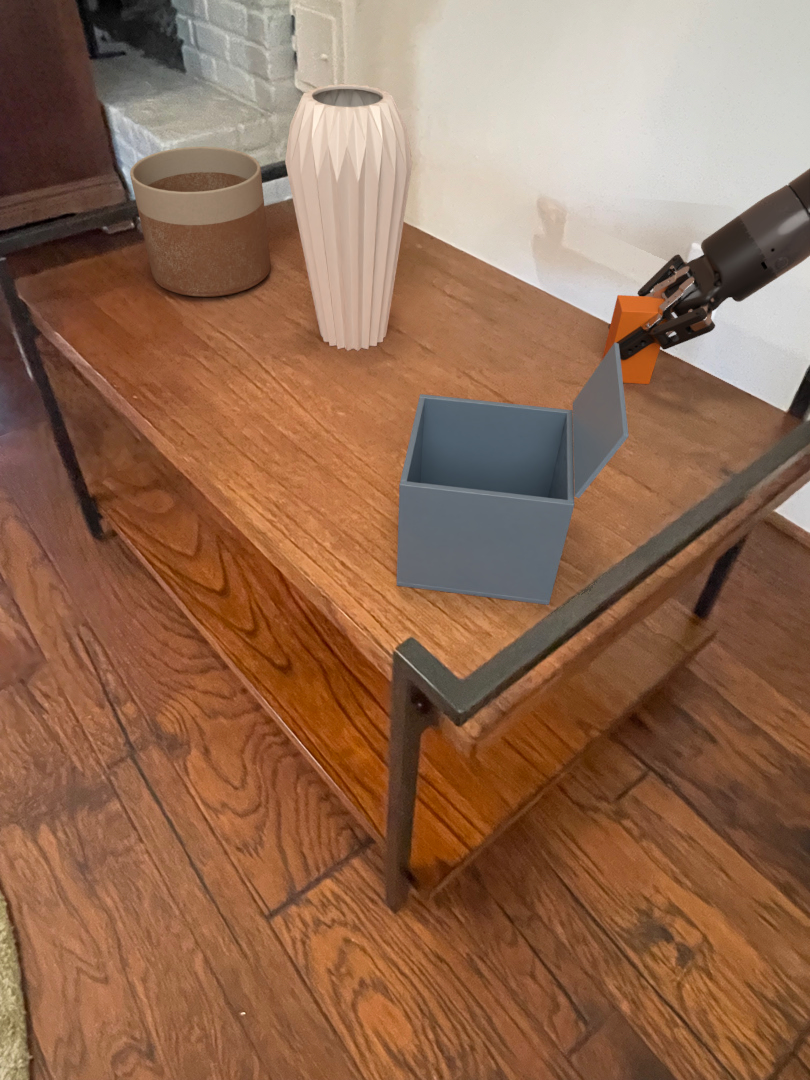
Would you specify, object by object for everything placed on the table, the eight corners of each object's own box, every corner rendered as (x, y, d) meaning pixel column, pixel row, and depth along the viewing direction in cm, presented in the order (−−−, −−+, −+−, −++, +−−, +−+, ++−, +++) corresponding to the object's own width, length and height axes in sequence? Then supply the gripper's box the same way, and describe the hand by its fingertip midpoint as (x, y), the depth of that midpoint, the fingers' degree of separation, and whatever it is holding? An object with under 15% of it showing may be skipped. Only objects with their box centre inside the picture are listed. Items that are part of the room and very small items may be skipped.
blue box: (550, 509, 72) (572, 409, 63) (548, 605, 63) (574, 504, 55) (415, 493, 73) (420, 393, 64) (396, 585, 64) (399, 484, 56)
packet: (644, 367, 90) (664, 297, 83) (649, 384, 87) (670, 313, 81) (600, 365, 90) (617, 294, 83) (604, 382, 87) (622, 310, 81)
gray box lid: (572, 402, 63) (576, 404, 63) (574, 496, 55) (579, 498, 55) (614, 341, 58) (619, 343, 59) (623, 434, 50) (629, 436, 50)
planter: (212, 238, 111) (196, 137, 101) (294, 268, 105) (286, 164, 95) (128, 278, 102) (101, 171, 92) (213, 314, 96) (195, 203, 86)
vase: (282, 321, 95) (259, 85, 76) (376, 298, 100) (376, 71, 81) (326, 374, 87) (312, 124, 68) (426, 347, 91) (439, 106, 73)
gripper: (726, 189, 80) (588, 291, 89) (763, 248, 70) (604, 355, 79) (758, 241, 83) (623, 334, 92) (798, 303, 74) (642, 400, 82)
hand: (615, 343), depth 86 cm, fingers closed on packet, 3 cm apart
